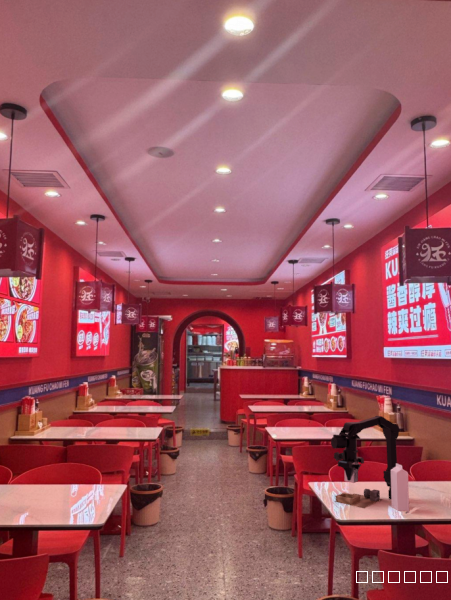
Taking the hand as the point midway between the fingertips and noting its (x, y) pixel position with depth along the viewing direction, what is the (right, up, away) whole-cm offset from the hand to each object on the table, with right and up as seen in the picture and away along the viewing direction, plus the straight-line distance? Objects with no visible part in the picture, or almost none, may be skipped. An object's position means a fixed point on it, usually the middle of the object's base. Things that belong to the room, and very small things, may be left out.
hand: (351, 479), depth 241 cm
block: (0, -1, 0) cm, 1 cm away
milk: (+21, -11, -12) cm, 26 cm away
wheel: (+11, -12, +5) cm, 17 cm away
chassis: (+4, -13, +1) cm, 13 cm away
